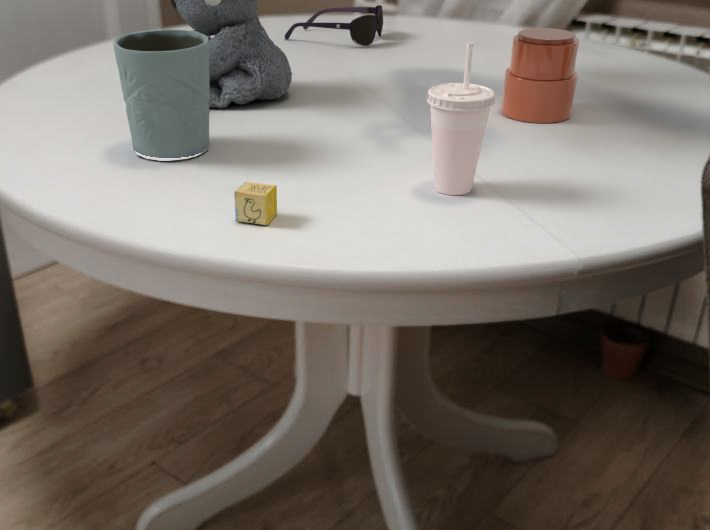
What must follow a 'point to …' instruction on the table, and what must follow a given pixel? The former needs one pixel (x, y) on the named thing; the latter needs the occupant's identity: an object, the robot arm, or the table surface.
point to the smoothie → (458, 130)
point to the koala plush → (237, 51)
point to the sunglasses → (351, 24)
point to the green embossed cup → (165, 90)
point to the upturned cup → (541, 76)
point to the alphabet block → (255, 203)
